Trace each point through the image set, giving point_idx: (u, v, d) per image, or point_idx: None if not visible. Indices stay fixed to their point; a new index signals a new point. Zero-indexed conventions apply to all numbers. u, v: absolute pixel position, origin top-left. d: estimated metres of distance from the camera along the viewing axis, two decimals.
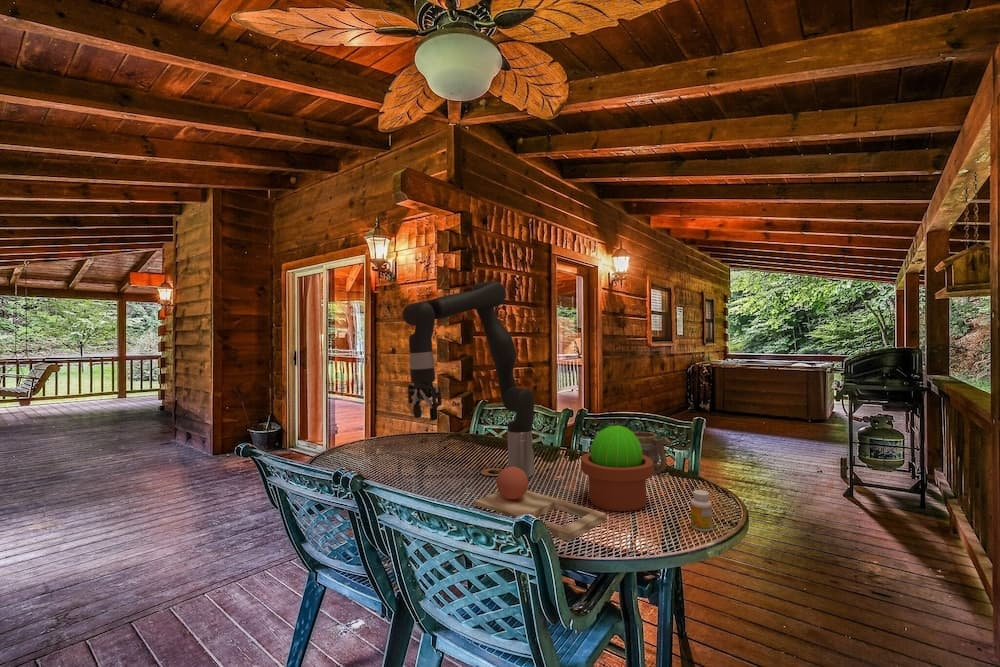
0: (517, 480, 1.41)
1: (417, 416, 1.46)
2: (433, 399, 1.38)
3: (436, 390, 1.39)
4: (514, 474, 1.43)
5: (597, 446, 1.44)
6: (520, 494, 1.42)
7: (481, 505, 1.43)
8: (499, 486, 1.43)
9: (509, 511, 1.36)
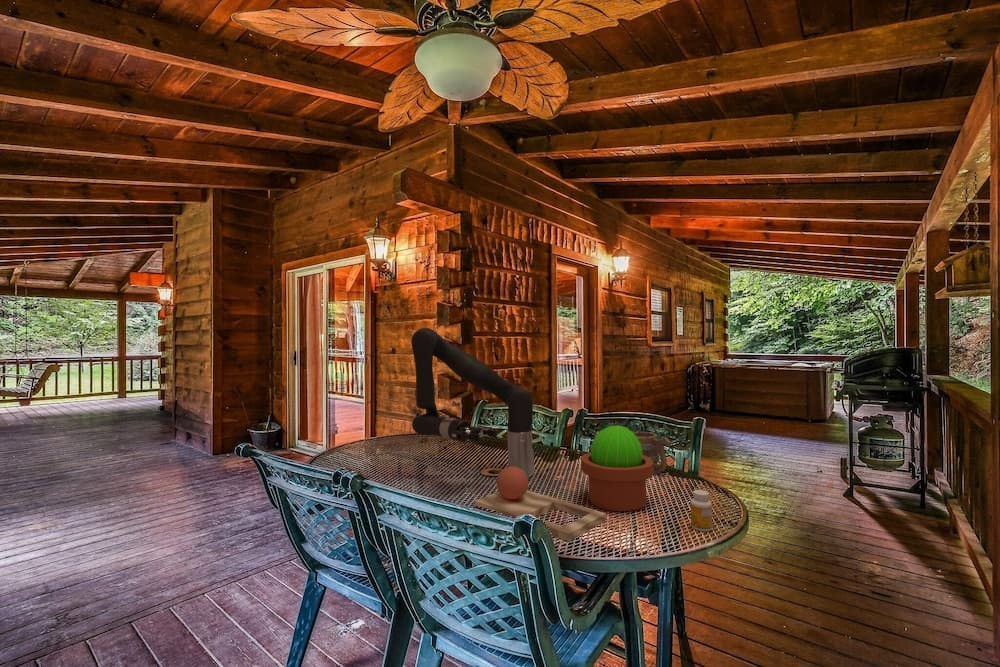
0: (517, 480, 1.41)
1: (495, 435, 1.57)
2: None
3: (453, 436, 1.55)
4: (514, 474, 1.43)
5: (597, 446, 1.44)
6: (520, 494, 1.42)
7: (481, 505, 1.43)
8: (499, 486, 1.43)
9: (509, 511, 1.36)
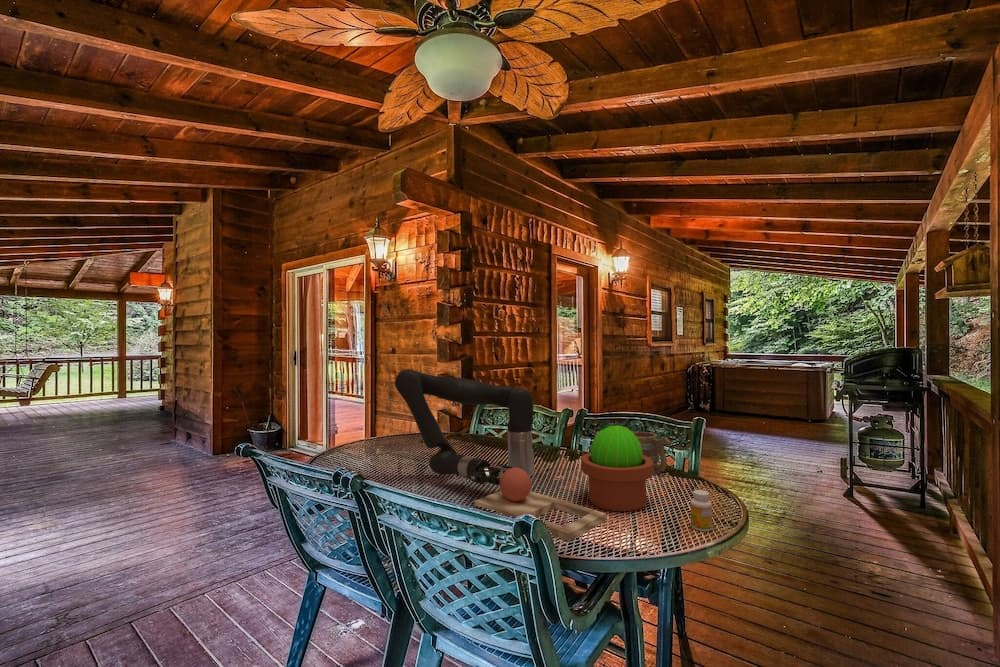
0: (521, 487, 1.40)
1: None
2: None
3: (472, 478, 1.48)
4: (519, 479, 1.40)
5: (597, 446, 1.44)
6: (521, 499, 1.42)
7: (481, 505, 1.43)
8: (502, 487, 1.42)
9: (509, 511, 1.36)
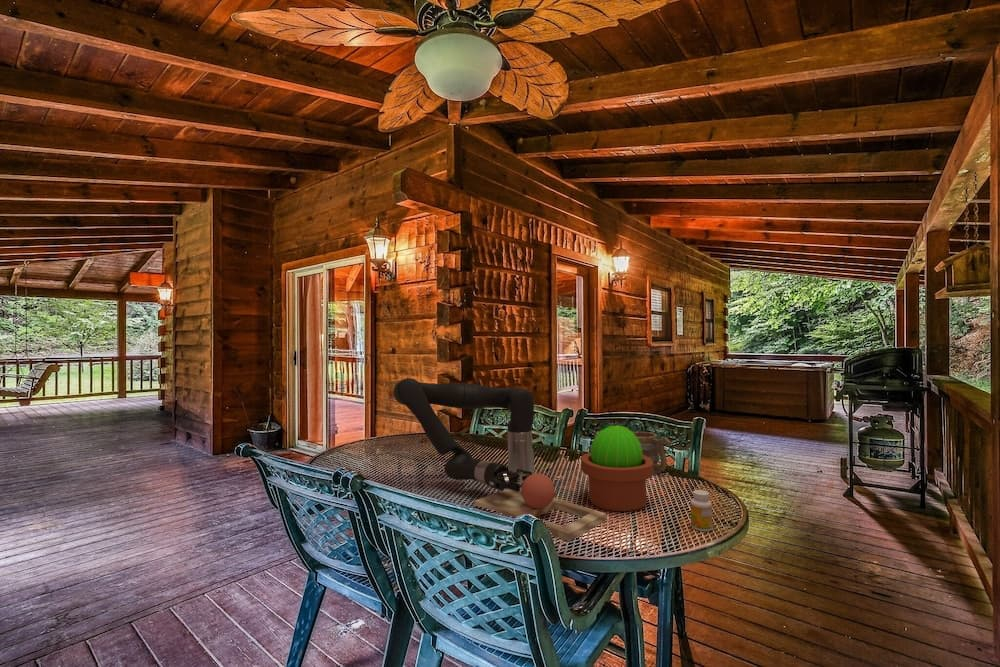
0: None
1: None
2: None
3: (491, 484, 1.42)
4: (537, 508, 1.36)
5: (597, 446, 1.44)
6: None
7: (481, 505, 1.43)
8: (527, 491, 1.35)
9: (509, 511, 1.36)
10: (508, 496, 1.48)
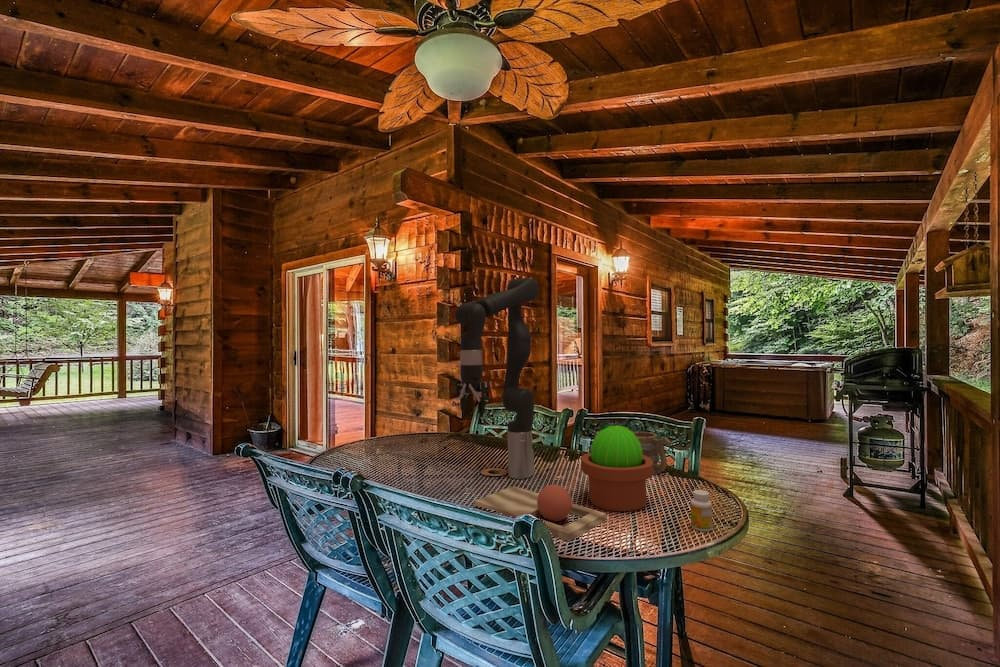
0: None
1: (463, 409, 1.58)
2: (482, 393, 1.50)
3: (485, 385, 1.51)
4: None
5: (597, 446, 1.44)
6: (543, 488, 1.35)
7: (481, 505, 1.43)
8: (546, 508, 1.30)
9: (509, 511, 1.36)
10: (508, 496, 1.48)
